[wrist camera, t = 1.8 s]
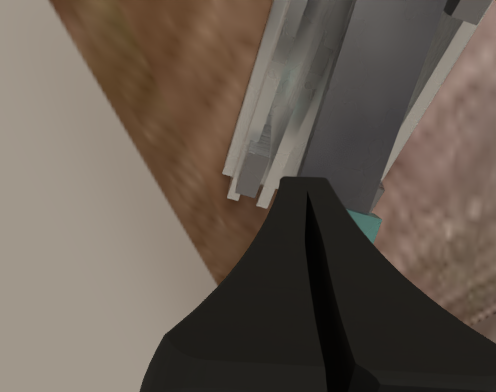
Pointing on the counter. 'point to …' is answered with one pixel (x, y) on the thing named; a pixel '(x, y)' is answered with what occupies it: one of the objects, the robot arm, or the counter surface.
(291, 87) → the heat sink
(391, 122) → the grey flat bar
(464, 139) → the counter surface
